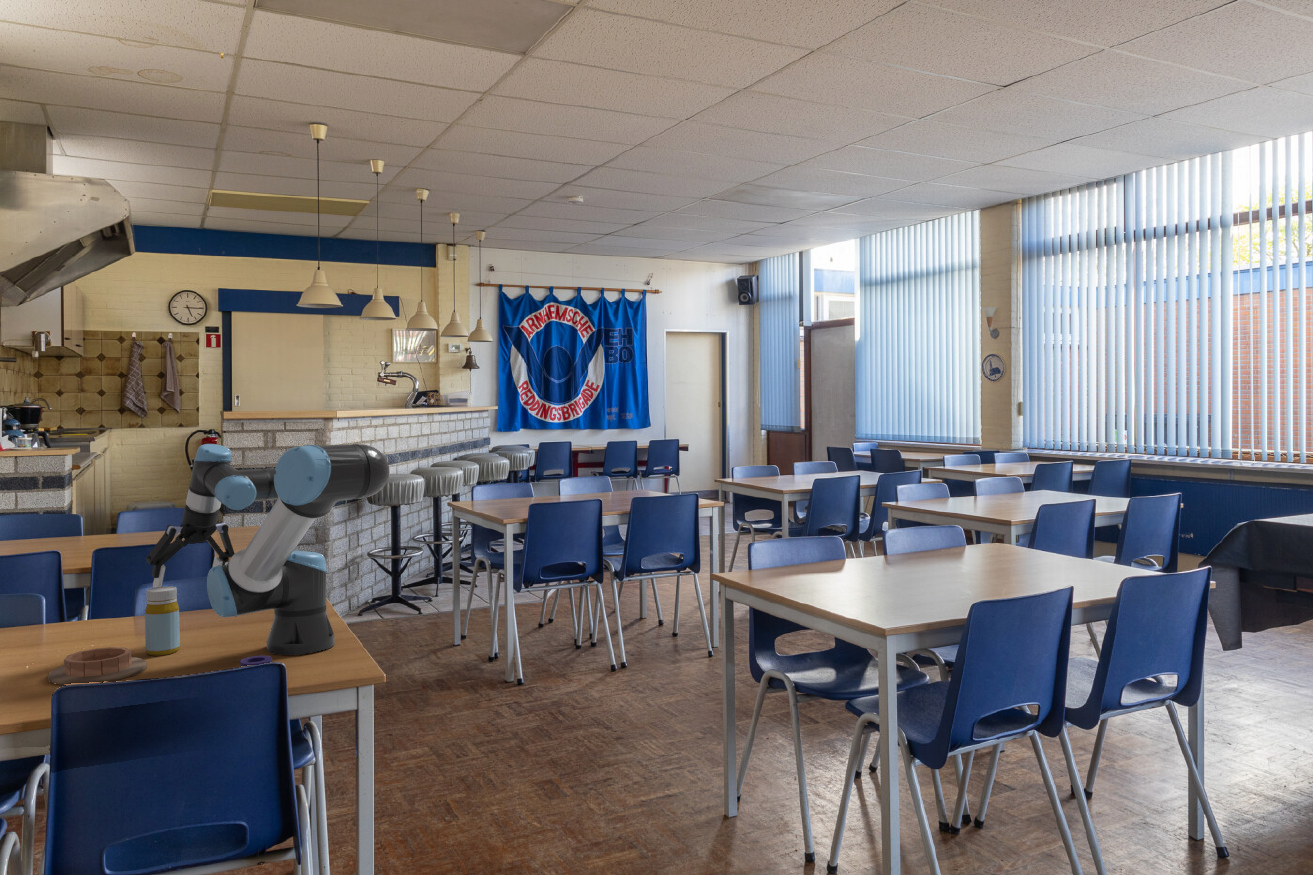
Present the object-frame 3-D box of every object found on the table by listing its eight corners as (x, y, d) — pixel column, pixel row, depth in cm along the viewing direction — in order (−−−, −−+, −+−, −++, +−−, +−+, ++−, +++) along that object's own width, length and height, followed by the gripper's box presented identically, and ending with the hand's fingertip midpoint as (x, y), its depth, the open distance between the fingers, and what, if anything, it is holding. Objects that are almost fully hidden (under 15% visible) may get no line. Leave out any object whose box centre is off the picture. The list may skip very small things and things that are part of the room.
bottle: (159, 647, 213) (158, 585, 213) (186, 648, 212) (185, 586, 212) (138, 655, 206) (137, 591, 206) (166, 656, 205) (165, 592, 205)
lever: (256, 668, 197) (256, 654, 197) (278, 671, 195) (278, 657, 195) (211, 684, 186) (211, 669, 186) (234, 687, 183) (234, 672, 183)
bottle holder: (161, 670, 195) (160, 652, 194) (68, 691, 180) (67, 671, 180) (125, 656, 205) (124, 639, 205) (34, 675, 191) (34, 656, 191)
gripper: (245, 498, 226) (228, 573, 230) (140, 502, 206) (124, 584, 210) (260, 510, 221) (242, 586, 226) (154, 516, 202) (137, 599, 206)
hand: (185, 585), depth 218 cm, fingers open, 13 cm apart
